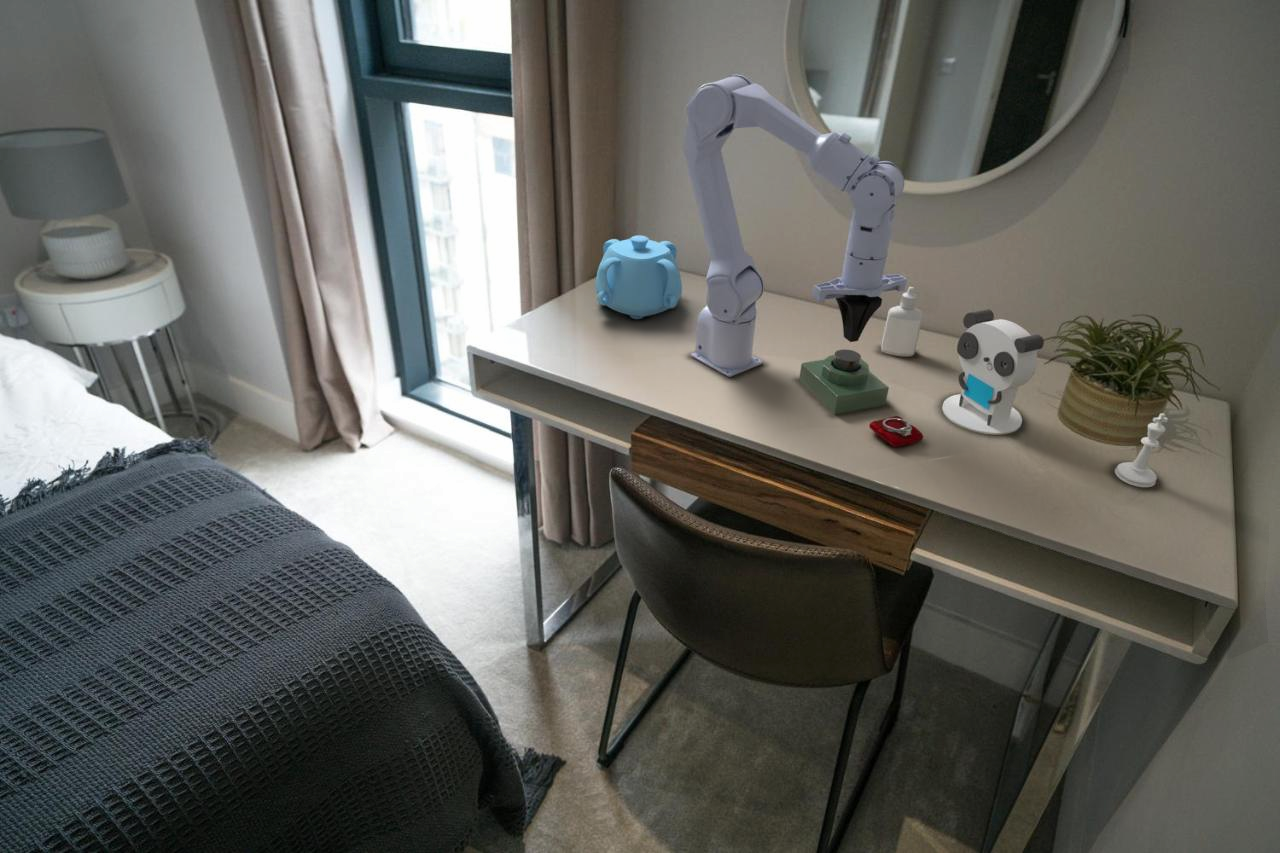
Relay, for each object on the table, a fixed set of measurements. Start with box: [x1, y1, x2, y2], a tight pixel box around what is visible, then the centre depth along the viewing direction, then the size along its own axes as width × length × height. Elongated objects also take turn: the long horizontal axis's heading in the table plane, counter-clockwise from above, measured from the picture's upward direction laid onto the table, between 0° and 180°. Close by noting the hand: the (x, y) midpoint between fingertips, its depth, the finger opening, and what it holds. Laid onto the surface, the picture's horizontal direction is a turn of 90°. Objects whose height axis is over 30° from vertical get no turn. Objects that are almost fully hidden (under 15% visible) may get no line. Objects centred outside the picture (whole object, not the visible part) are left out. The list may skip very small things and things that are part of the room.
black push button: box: [833, 348, 862, 372], centre depth 121 cm, size 4×4×2 cm
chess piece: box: [1114, 412, 1169, 488], centre depth 104 cm, size 5×5×10 cm
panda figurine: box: [941, 308, 1045, 436], centre depth 116 cm, size 12×11×15 cm
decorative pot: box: [594, 235, 683, 320], centre depth 147 cm, size 16×16×14 cm
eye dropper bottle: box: [880, 286, 923, 358], centre depth 133 cm, size 4×6×12 cm
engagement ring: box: [868, 415, 924, 448], centre depth 113 cm, size 6×6×3 cm
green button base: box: [798, 354, 890, 415], centre depth 123 cm, size 11×9×5 cm
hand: (850, 338), depth 119 cm, fingers closed
